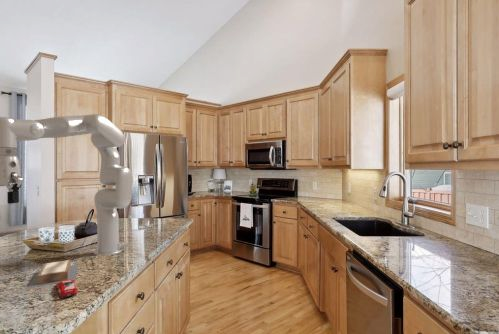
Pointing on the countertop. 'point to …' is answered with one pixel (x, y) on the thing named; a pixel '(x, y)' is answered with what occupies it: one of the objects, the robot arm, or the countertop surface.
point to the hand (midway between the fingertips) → (3, 202)
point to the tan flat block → (54, 272)
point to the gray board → (71, 277)
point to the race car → (66, 288)
